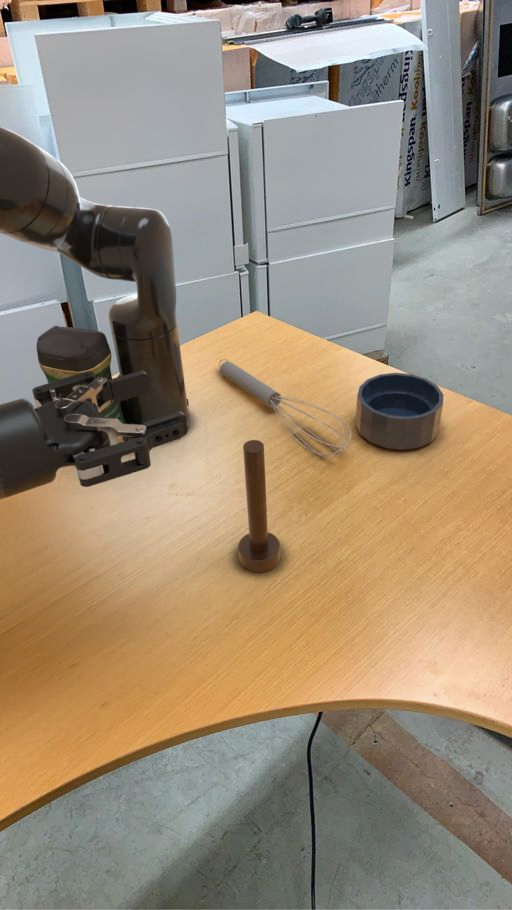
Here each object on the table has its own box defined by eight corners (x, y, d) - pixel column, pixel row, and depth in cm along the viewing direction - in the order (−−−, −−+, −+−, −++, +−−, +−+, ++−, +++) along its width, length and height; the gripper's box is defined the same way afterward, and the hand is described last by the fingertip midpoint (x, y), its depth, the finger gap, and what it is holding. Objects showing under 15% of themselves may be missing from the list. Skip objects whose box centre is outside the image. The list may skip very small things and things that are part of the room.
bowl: (351, 447, 96) (352, 413, 92) (361, 402, 105) (363, 369, 101) (436, 457, 93) (442, 422, 90) (439, 409, 102) (444, 376, 99)
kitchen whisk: (234, 364, 116) (231, 332, 112) (359, 459, 94) (362, 423, 90) (204, 375, 114) (201, 342, 110) (326, 475, 91) (327, 439, 87)
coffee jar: (136, 433, 101) (115, 324, 89) (109, 464, 95) (83, 351, 84) (84, 422, 104) (57, 315, 93) (54, 451, 98) (21, 340, 87)
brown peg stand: (234, 569, 78) (224, 457, 68) (245, 539, 82) (236, 429, 71) (275, 575, 77) (271, 463, 67) (284, 545, 81) (281, 434, 70)
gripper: (-7, 465, 47) (196, 400, 53) (-44, 380, 57) (131, 334, 63) (18, 541, 51) (203, 472, 58) (-21, 450, 61) (141, 400, 68)
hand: (165, 400), depth 60 cm, fingers open, 8 cm apart
